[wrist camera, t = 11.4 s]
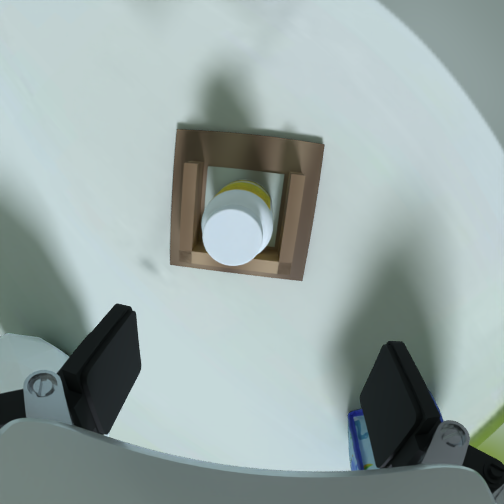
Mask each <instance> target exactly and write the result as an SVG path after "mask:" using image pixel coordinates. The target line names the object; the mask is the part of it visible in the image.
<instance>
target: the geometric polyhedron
mask: <svg viewBox="0 0 504 504" xmlns="http://www.w3.org/2000/svg"><path fill="white" fill-rule="evenodd" d="M68 358H69V356H68V355H66V354H65V353H64V352H62V351H61V350H59V349H58V348H57V347H55V346H53V345H52V344H50V343H48V342H47V341H45V340H43V339H42V338H40V337H35V336H27V335H19V334H12V333H6V334H4V335H2V336H0V394H1V393H6V392H10V391H15V390H20V389H23V385H24V381H25V379H26V378H27V377H28V376H29V375H30V374H32V373H33V372H35V371H39V370H49V371H53V372H55V373H57V372H58V371H59V370H60V368H61V367H62V366H63V365H64V363H65V362H66V361H67V360H68ZM109 434H110V433H108V434H107V435H105V434H104V436H107V437H109Z"/></svg>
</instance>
